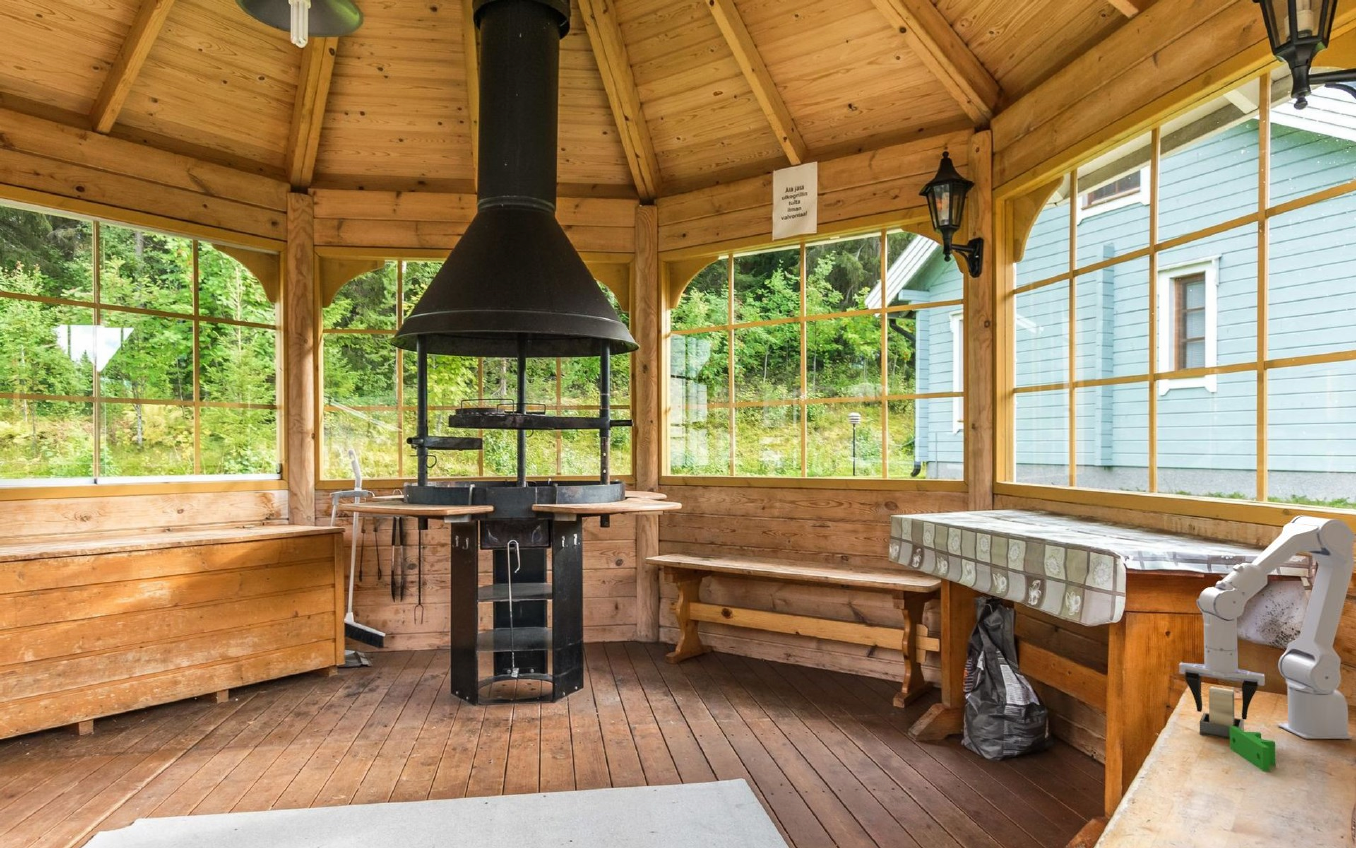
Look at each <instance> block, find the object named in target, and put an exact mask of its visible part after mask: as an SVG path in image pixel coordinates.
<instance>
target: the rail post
mask: <svg viewBox="0 0 1356 848" xmlns="http://www.w3.org/2000/svg"><path fill="white" fill-rule="evenodd" d="M1208 713H1209V723H1215V724H1220V725H1226V726H1235V720H1234V718H1235V690H1234V689H1228V688H1221V687H1215V686H1210V688H1209V690H1208Z"/></svg>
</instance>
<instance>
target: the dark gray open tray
mask: <svg viewBox="0 0 1356 848" xmlns="http://www.w3.org/2000/svg"><path fill="white" fill-rule="evenodd" d="M1234 720H1235V726H1236V727H1238V728H1239V729H1241V730H1242V731H1244V732H1245V719H1242V718H1237V717H1234ZM1199 735H1204V736H1209V737H1215V738H1221V739H1224V740H1225V739H1226V740H1230V726H1226V725H1220V724H1215V723H1209V712H1203V713H1202V716H1201V717H1200V720H1199Z"/></svg>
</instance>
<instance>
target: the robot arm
mask: <svg viewBox="0 0 1356 848" xmlns="http://www.w3.org/2000/svg"><path fill="white" fill-rule="evenodd" d="M1355 539H1356V534H1355V532H1354V531H1353V530H1352V529H1351V527H1350V526H1349V525H1348V524H1347V523H1346V521H1343V520H1341V519H1337V518H1325V517H1324V518H1323V517H1317V516H1316V517H1315V516H1310V515H1304V514H1301V515H1297V516H1295V517H1294V518H1292V520H1291V521H1290V522H1288V523H1287V524H1285V525H1284V526H1283V528H1282V532H1281V533H1280V535H1279V536H1278V537H1277V538H1276V539H1274V540H1273V541H1272V543H1271V544H1269V546H1268V547H1266V548H1265V549H1264V551H1262V552H1261V553H1260V554H1259V555H1258V556H1257V557H1256V558H1255V559H1254V560H1253V561H1252V562H1250V563H1249V562H1242V563H1241V564H1236V565H1234V566H1233V567H1232V571H1231V572H1230V573H1228V574H1227V575H1226V576H1225V577H1224V578H1223V579H1222V580H1218V581H1217V582H1216V583H1215V586H1212V587H1207V588H1205V589H1203V591H1201V593H1200V595H1199V597H1198V598H1197V599H1196V605H1197V608H1198V609H1199V611H1200V612H1201V614H1202V620H1203V649H1204V650H1203V654H1204V655H1203V657H1204V658H1203V659H1204V663H1202V664H1201V663H1189V662H1188V663H1187V662H1180V663H1179V664H1178V667H1179V668H1178V669H1179V671H1178V673H1179V674H1181V675H1185V676H1184V680H1185V681H1186V684H1187V685H1188V688H1189V689H1190V691H1191V694H1192V696H1193V699H1194V702H1195V706H1196V712H1199V713H1201V712H1202V711H1203V697H1202V677H1207V678H1213V679H1221V680H1227V681H1235V682H1242V684H1241V693H1242V694H1241V695H1242V696H1241V697H1242V705H1241V706H1242V709H1241V719H1244V721H1245V720H1246V721H1247V719H1248V710H1249V707H1250V704H1251V702H1252V699H1253V697H1254V695H1255V693H1256V692H1257V691H1258V689H1259V688H1258V687H1259V686H1260V687H1261V686H1263V687H1264V686H1265V683H1266V682H1265V678H1266V677H1265V674H1264V673H1260V672H1253V671H1250V670H1245V669H1239V667H1238V665H1239V664H1238V656H1239V655H1238V618H1239V617H1241V616H1243V613H1244V611H1245V606H1246V604H1247V603H1248V601H1249V600H1250V599H1252V598H1253V597H1254V596H1255V595H1256V594H1257V593H1258V592H1260V591H1261V590H1262V589H1264V587H1265V586H1266V585H1268V575H1270V574H1271V573H1272V572H1274V571H1275V570H1276V569H1278V568H1279V567H1281V566H1282V565H1284V563H1286V562H1287V561H1289V560H1290V559H1292V558H1293V557H1294V556H1296V555H1297V554H1298V553H1305V552H1306V553H1308V554H1310V555H1311V557H1312V558H1313V560H1314V561H1315V562H1316V563H1317V565H1318V566H1317V570H1316V574H1315V578H1314V581H1313V584H1312V589H1311V592H1310V596H1309V600H1308V604H1307V607H1306V611H1305V615H1304V619H1303V623H1302V625H1301V629H1300V633H1299V637H1297V638H1296V639H1294V640H1291V641H1290V642H1288V643H1287V648H1286V650H1285V652H1284V653H1283V654H1282V655H1281V656H1280V658H1279V660H1278V662H1277V663H1278V665H1277V667H1278V672H1279V673H1280V675H1281V676H1282V677H1283V678H1284V679H1285V684H1286V685H1287V722H1281V723H1280V722H1279V723H1277V726H1278V727H1280V728H1282V729H1284V730H1286V731H1288V732H1291V733H1293V734H1294V735H1296V736H1298V737H1301V738H1303V739H1308V740H1309V739H1311V740H1312V739H1313V740H1314V739H1315V740H1318V739H1321V740H1322V739H1323V740H1324V739H1325V740H1327V739H1329V740H1331V739H1333V740H1336V739H1338V740H1339V739H1343V740H1347V739H1349V740H1350V739H1352V735H1349V707H1348V703H1347V699H1346V697H1345V696H1344V695H1343V693H1341V691H1339V690H1338V687H1339V686H1340V685H1341V682H1342V674H1341V669H1340V668H1341V667H1340V666H1341V662H1342V658H1341V657H1340V656H1339V654H1338V653H1337V652H1336V651H1335V649H1334V646H1333V645H1334V642H1335V640H1336V639H1335V638H1336V634H1337V631H1338V628H1339V627H1338V626H1339V623H1340V620H1341V618H1342V617H1341V616H1342V613H1343V609H1344V604H1345V601H1346V597H1347V593H1348V590H1349V586H1350V582H1351V579H1352V575H1353V571H1354V567H1355V557H1354V549H1353V547H1354V544H1355Z"/></svg>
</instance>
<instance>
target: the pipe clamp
mask: <svg viewBox="0 0 1356 848" xmlns="http://www.w3.org/2000/svg"><path fill="white" fill-rule="evenodd" d="M1229 749H1230V750H1232V752H1234V753H1236V754H1237V755H1239V756H1240V757H1242V758H1243V759H1244V760H1245V761H1248V762H1249V763H1251V764H1252V765H1254V766H1255V767H1256V768H1258V769H1259V770H1260V771H1262V772H1271V770H1270V769H1271V768H1270V767H1271V766H1274V767H1276V765H1277V764H1276V760H1277V759H1276V741H1274V740H1269V739H1265V738H1262V733H1261V732H1260V731H1256V732H1255V731H1245V730H1244V731H1242V730H1241V729H1239V728H1238V727H1236V726H1230V739H1229Z"/></svg>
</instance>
